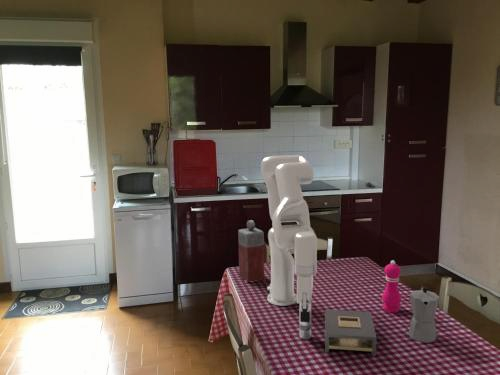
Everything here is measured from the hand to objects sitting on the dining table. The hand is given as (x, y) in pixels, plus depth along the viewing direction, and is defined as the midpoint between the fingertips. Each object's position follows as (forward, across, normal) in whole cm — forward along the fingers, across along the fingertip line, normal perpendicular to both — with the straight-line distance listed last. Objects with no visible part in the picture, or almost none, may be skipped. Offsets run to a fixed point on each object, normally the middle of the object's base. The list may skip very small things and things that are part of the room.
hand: (305, 318), depth 154 cm
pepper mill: (+7, -26, +32) cm, 42 cm away
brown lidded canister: (+7, -52, -26) cm, 58 cm away
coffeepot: (+7, -6, +40) cm, 41 cm away
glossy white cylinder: (+7, 0, 0) cm, 7 cm away
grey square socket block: (+7, +1, +15) cm, 16 cm away
